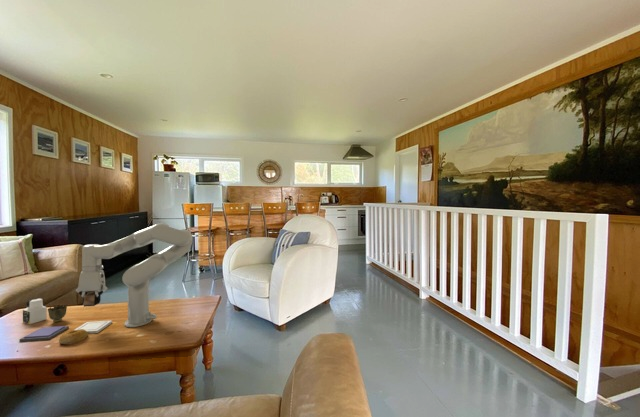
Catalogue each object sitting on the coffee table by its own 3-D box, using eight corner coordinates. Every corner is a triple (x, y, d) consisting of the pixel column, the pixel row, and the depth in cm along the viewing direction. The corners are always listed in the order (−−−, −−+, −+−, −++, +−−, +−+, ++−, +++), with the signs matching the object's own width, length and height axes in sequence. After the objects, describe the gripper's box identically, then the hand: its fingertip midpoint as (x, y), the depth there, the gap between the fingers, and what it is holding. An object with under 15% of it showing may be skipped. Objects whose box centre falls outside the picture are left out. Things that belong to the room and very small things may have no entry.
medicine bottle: (22, 322, 145) (22, 300, 144) (40, 317, 151) (40, 296, 151) (29, 324, 142) (29, 302, 142) (47, 319, 148) (46, 297, 148)
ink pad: (68, 328, 138) (68, 325, 138) (49, 339, 126) (49, 336, 126) (41, 329, 136) (41, 326, 136) (19, 341, 124) (19, 338, 124)
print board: (112, 322, 145) (112, 320, 145) (97, 333, 133) (97, 330, 133) (87, 324, 143) (87, 321, 143) (70, 334, 131) (70, 332, 131)
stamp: (99, 303, 140) (99, 288, 140) (93, 306, 136) (93, 291, 136) (89, 303, 140) (89, 289, 139) (83, 306, 135) (83, 291, 135)
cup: (54, 325, 141) (54, 310, 141) (44, 323, 143) (44, 309, 143) (70, 319, 149) (70, 305, 149) (60, 318, 150) (60, 304, 150)
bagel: (93, 333, 133) (93, 324, 132) (77, 345, 122) (77, 334, 122) (71, 335, 131) (70, 325, 131) (52, 347, 120) (52, 336, 120)
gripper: (114, 266, 143) (114, 300, 143) (78, 267, 140) (78, 302, 140) (105, 269, 135) (105, 305, 135) (67, 270, 132) (67, 307, 133)
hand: (91, 303), depth 138 cm, fingers closed on stamp, 4 cm apart
